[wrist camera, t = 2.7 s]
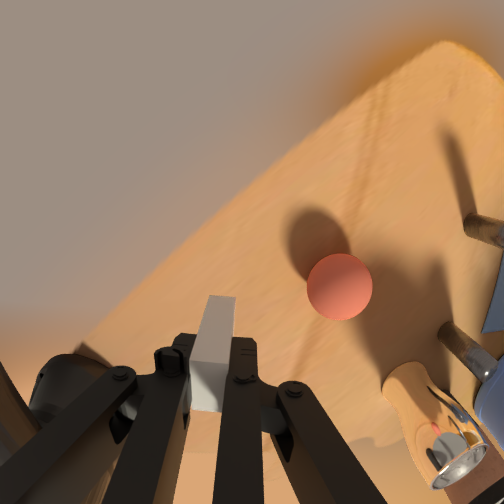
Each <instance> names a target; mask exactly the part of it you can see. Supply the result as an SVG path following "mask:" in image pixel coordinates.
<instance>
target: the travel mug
mask: <svg viewBox="0 0 504 504" xmlns="http://www.w3.org/2000/svg"><path fill="white" fill-rule="evenodd" d="M441 391H442V392H443V393H445V394H446V395H447V396H449V397H450V398H451V399H452V400H454V401H455V402H456V403H457V404H458V405H460V403H459V402H458V401H457V400H456V399H455V398H454V397H453V396H452V394H451V393H450V392H449V391H447V390H444V389H441ZM460 406H461V405H460ZM461 407H462V406H461ZM462 408H463V407H462ZM463 409H464V408H463ZM464 410H465V409H464ZM465 411H466V410H465ZM466 412H467V411H466ZM467 414H468V413H467ZM468 415H469V414H468ZM469 416H470V415H469ZM470 417H471V416H470ZM471 418H472V417H471ZM472 420H473V418H472ZM473 421H474V420H473ZM474 423H475V424H476V425H477V427H478V429H479V430H480V432H481V434H482V435H483V437H484V439H485V440H486V442H487V444H488V445H489V450H488V453H487V454H486V456H485V457H484V459H483V460H482V461H481V462H480V463H479V465H478V466H477V467H476V468H474V469H473V470H472V471H471V472H470V473H469V474H467V475H466V476H465V477H463V478H462V479H460V480H459V481H457V482H456V483H454V484H452V485H450V486H448V487H446V488H444V490H445V492H446V494H447V496H448V497H449V499H450V501H451V503H452V504H504V460H503V458H502V457H501V455H500V454H499V452H498V451H497V450H496V448H495V447H494V445H493V444H492V443H491V441H490V440H489V439H488V437H487V436H486V435H485V433H484V432H483V431H482V429H481V428H480V427H479V425H478V424H477V423H476V422H475V421H474Z"/></svg>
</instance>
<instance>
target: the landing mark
mask: <svg viewBox="0 0 504 504" xmlns="http://www.w3.org/2000/svg"><path fill="white" fill-rule="evenodd" d="M501 330H504V251H503V256H502V261H501V265H500V270H499V274H498V278H497V282H496V286H495V290H494V293H493V297H492V301H491V304H490V307H489V310H488V314H487V317H486V320H485V323H484V326H483V329H482V332H481V333H488V332H495V331H501Z"/></svg>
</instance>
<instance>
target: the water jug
mask: <svg viewBox="0 0 504 504" xmlns="http://www.w3.org/2000/svg"><path fill="white" fill-rule="evenodd" d="M474 410H475V414H476V416H477V417H478V419H479V420H480V421H481V422H482V423H484V425H485V426H486V427H487V428H488V430H489V431H490V432H491V434H492V435H493V436H494V437H495V439H496V440H497V441H498V444H499V446H500V447H501V448H502V449H503V451H504V355H503V356H502V357H501V358H500V359H499V361H498V368H497V371H496V372H495V374H494V375H493V377H492V378H491V379H490V380H488V381H487V382H484V383H483V384H482V385H481V387H480V390H479V392H478V394H477V397H476V400H475V405H474Z"/></svg>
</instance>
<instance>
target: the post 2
mask: <svg viewBox="0 0 504 504" xmlns="http://www.w3.org/2000/svg"><path fill="white" fill-rule="evenodd" d="M438 339H439V340H440V341H441V342H442V343H443V344H444V345H445V346H446V347H447V348H448V349H449V350H450V351H451V352H452V353H453V354H454V355H455V356H456V357H457V358H458V359H459V360H460V361H461V362H462V363H463V364H464V365H465V366H466V367H467V368H468V369H469V370H470V371H471V372H472V373H473V374H474V375H475V376H476V377H477V378H478V379H479V380H480V382H482V383H484V382H487V381H488V380H490V379H491V378H492V377H493V375H494V374H495V372H496V371H497V368H498V361H497V360H496V359H495V358H494V357H492V356H491V355H490V354H489V353H488V352H487V351H486V350H484V349H483V348H482V347H481V346H480V345H479V344H477V343H476V342H475V341H474V340H473V339H472V338H470V337H469V336H468V335H467V334H466V333H464V332H463V331H462V330H461V329H460V328H458V327H457V326H456V325H455V324H454V323H452V322H447V323H445V324H444V325H443V326H442V327H441V328H440V330H439V332H438Z"/></svg>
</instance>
